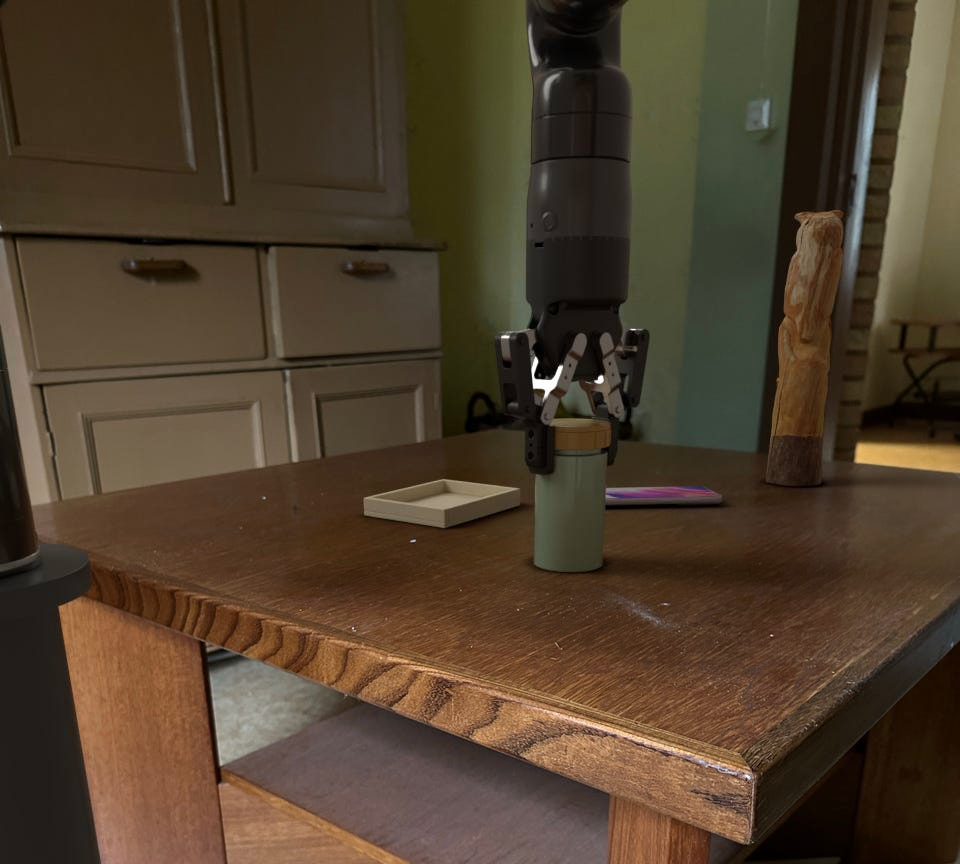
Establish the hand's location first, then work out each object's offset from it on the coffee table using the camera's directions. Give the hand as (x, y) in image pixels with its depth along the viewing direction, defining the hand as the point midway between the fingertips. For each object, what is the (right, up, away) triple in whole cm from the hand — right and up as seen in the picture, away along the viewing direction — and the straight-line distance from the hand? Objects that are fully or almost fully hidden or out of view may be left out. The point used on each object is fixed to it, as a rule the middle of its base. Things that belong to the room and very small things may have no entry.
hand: (571, 468), depth 71 cm
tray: (-11, 0, +22) cm, 25 cm away
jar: (0, -7, +3) cm, 8 cm away
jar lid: (0, +3, -1) cm, 3 cm away
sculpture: (+31, +6, +39) cm, 50 cm away
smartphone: (+11, +1, +27) cm, 29 cm away
